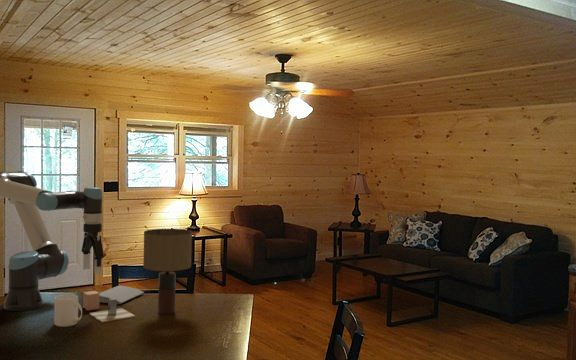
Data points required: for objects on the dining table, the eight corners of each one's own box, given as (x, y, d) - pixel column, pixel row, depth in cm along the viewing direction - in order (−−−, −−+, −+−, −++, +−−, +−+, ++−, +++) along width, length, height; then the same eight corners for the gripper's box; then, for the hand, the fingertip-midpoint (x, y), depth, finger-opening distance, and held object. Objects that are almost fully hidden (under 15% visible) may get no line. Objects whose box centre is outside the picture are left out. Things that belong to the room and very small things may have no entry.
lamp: (132, 314, 227) (134, 232, 226) (160, 303, 246) (162, 227, 245) (172, 321, 220) (174, 236, 219) (198, 309, 239) (200, 230, 237)
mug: (73, 329, 206) (74, 301, 206) (49, 325, 210) (49, 298, 210) (89, 323, 214) (89, 296, 214) (65, 319, 218) (66, 293, 218)
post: (107, 315, 226) (108, 298, 225) (113, 314, 227) (114, 298, 227) (110, 317, 224) (110, 300, 223) (116, 316, 225) (116, 299, 225)
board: (89, 314, 226) (89, 313, 226) (121, 309, 235) (121, 307, 235) (101, 322, 215) (101, 321, 215) (135, 317, 224) (135, 315, 224)
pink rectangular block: (83, 307, 236) (83, 292, 236) (94, 305, 239) (95, 290, 239) (87, 310, 232) (87, 294, 232) (99, 308, 235) (99, 293, 235)
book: (89, 304, 244) (89, 295, 244) (117, 292, 267) (117, 284, 266) (119, 307, 241) (119, 298, 240) (145, 295, 263) (145, 287, 263)
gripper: (74, 220, 242) (73, 267, 242) (94, 226, 222) (94, 277, 223) (91, 219, 246) (90, 265, 247) (112, 225, 227) (111, 275, 228)
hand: (92, 271), depth 235 cm, fingers open, 13 cm apart
